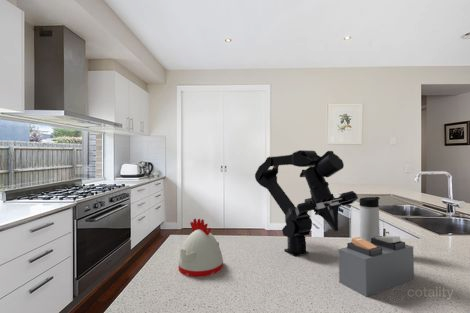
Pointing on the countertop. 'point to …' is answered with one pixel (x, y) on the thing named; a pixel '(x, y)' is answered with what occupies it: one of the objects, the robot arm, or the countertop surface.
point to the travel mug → (369, 218)
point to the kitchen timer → (200, 252)
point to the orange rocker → (363, 243)
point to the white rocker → (389, 239)
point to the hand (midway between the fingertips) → (336, 231)
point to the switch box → (375, 266)
